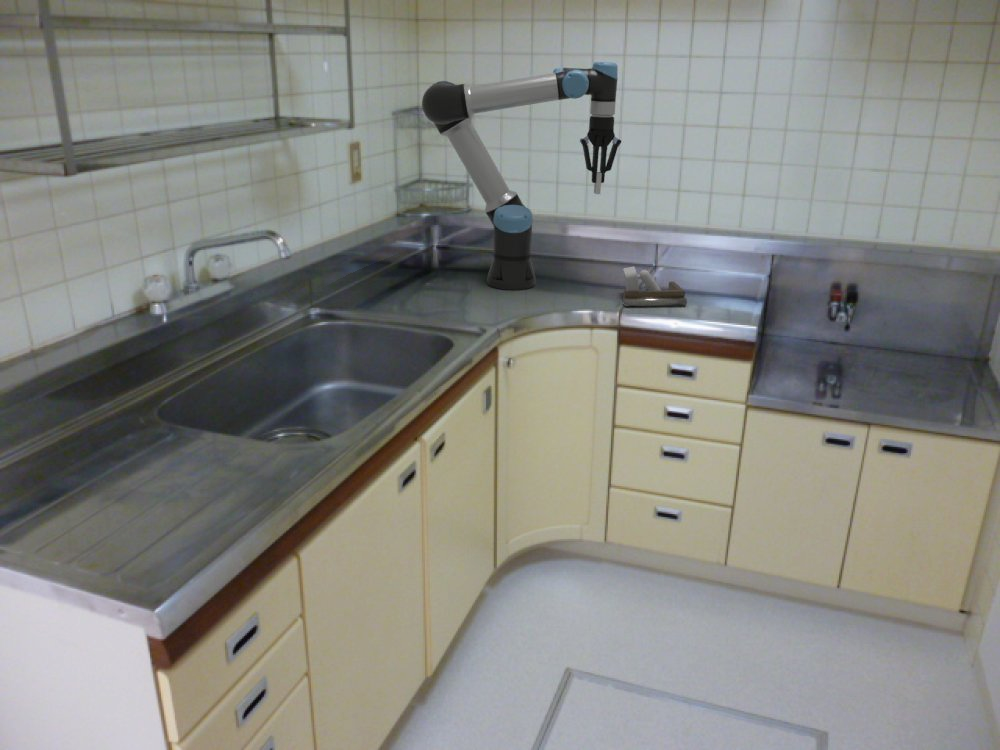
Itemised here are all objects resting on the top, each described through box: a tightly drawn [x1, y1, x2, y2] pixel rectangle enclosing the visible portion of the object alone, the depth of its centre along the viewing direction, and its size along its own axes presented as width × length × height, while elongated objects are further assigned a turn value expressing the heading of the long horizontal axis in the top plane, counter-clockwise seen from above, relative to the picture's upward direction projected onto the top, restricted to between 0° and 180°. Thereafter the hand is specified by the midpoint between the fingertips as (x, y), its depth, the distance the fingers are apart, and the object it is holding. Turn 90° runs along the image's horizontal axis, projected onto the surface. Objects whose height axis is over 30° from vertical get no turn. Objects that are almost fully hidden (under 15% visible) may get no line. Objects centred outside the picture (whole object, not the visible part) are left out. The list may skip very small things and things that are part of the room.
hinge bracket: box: [622, 281, 688, 307], centre depth 247 cm, size 18×13×4 cm
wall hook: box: [622, 266, 662, 291], centre depth 250 cm, size 8×10×10 cm
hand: (597, 193), depth 264 cm, fingers closed
